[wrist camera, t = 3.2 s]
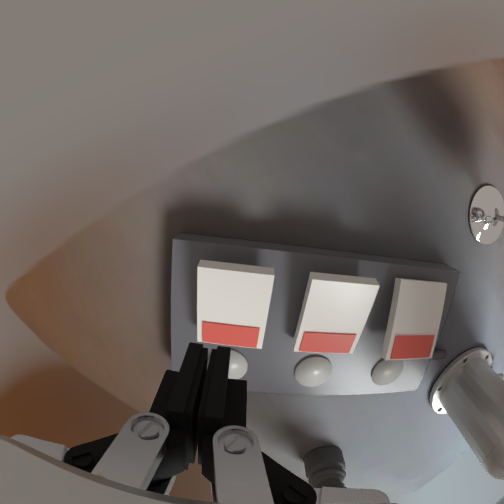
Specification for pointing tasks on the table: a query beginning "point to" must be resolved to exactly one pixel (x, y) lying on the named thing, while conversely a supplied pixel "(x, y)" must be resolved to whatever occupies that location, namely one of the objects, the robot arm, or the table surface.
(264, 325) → the rocker
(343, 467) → the candle holder
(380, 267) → the power strip
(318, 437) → the table surface
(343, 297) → the rocker
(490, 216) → the wineglass
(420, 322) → the rocker
